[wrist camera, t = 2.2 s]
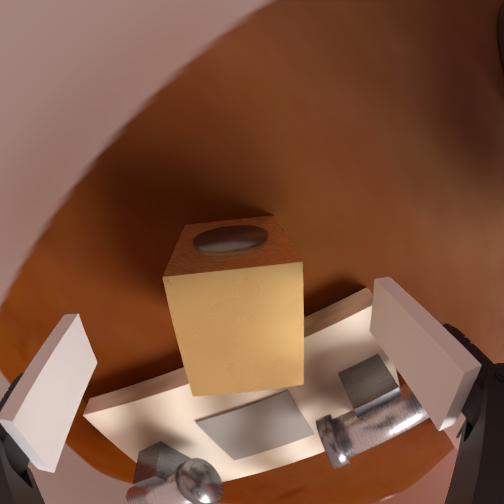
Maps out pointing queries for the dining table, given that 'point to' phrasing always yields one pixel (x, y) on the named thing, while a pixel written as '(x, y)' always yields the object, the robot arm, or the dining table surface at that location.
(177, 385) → the bench
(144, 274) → the dining table surface
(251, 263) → the wooden block with hole
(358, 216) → the dining table surface
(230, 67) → the dining table surface
